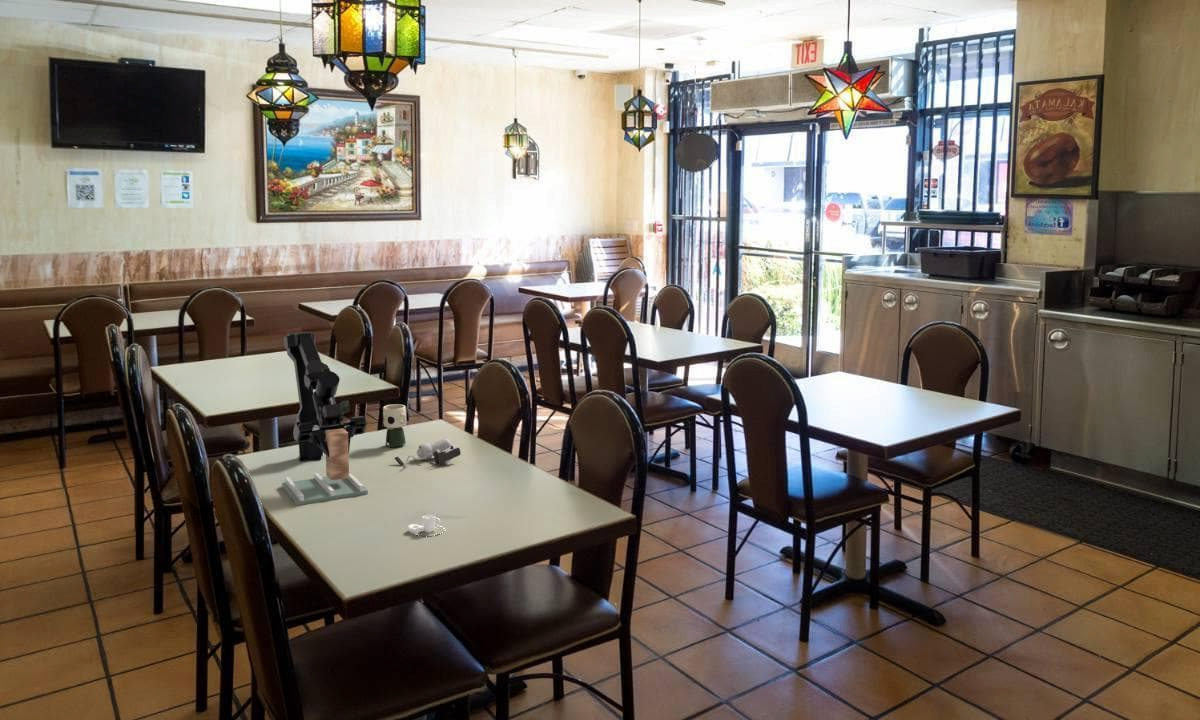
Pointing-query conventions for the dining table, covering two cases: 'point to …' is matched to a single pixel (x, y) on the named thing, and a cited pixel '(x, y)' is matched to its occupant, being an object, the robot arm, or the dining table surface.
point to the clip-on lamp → (435, 452)
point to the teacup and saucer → (424, 525)
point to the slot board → (322, 489)
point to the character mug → (394, 424)
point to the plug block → (337, 454)
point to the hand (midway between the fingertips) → (338, 454)
